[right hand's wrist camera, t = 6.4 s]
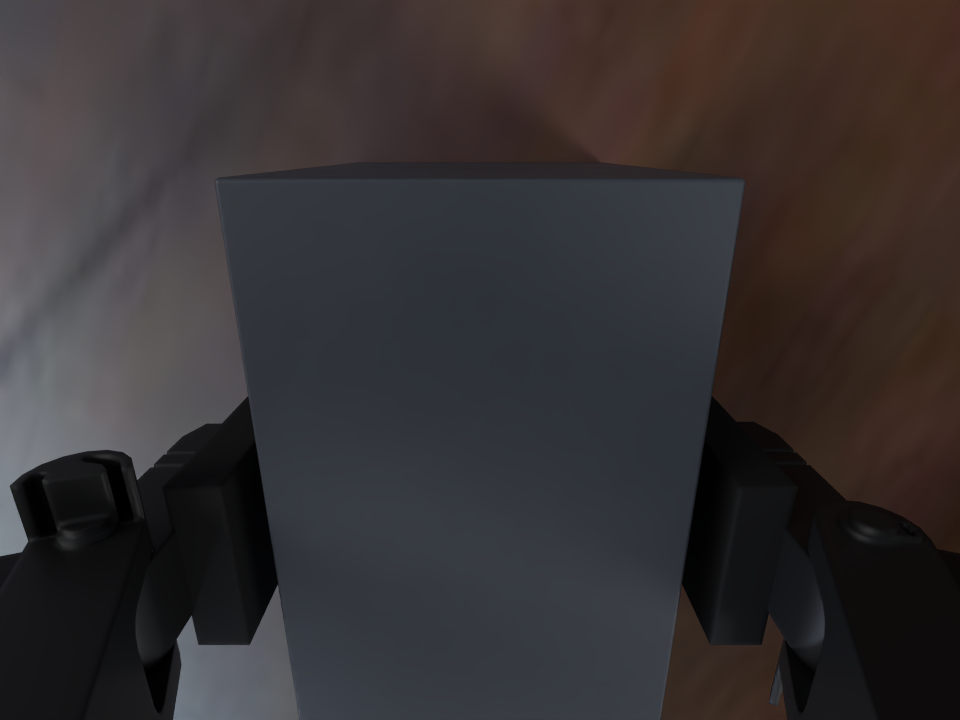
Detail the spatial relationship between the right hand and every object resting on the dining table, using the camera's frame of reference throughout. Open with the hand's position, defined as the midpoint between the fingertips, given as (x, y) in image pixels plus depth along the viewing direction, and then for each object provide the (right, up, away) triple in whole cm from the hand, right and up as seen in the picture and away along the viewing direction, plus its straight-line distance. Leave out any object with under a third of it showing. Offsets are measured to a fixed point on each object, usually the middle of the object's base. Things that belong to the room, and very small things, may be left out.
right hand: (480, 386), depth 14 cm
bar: (0, -21, +9) cm, 23 cm away
